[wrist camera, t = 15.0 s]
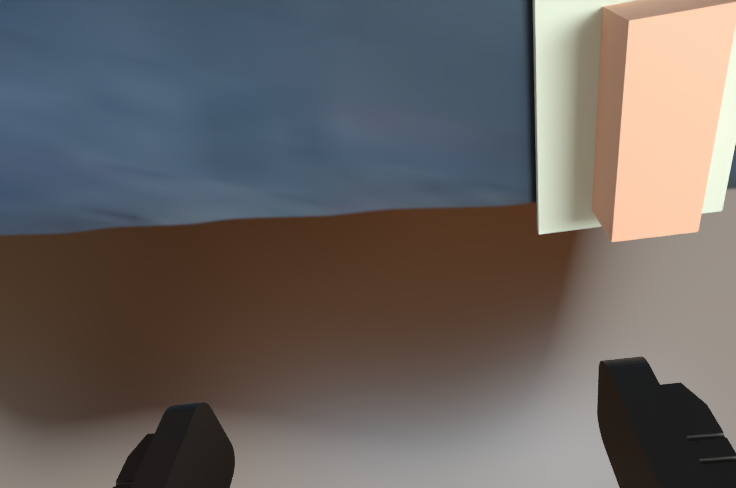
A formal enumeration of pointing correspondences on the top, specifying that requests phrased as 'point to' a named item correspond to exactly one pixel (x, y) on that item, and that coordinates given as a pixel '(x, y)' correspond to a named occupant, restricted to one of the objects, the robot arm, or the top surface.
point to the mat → (591, 115)
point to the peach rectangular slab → (658, 113)
